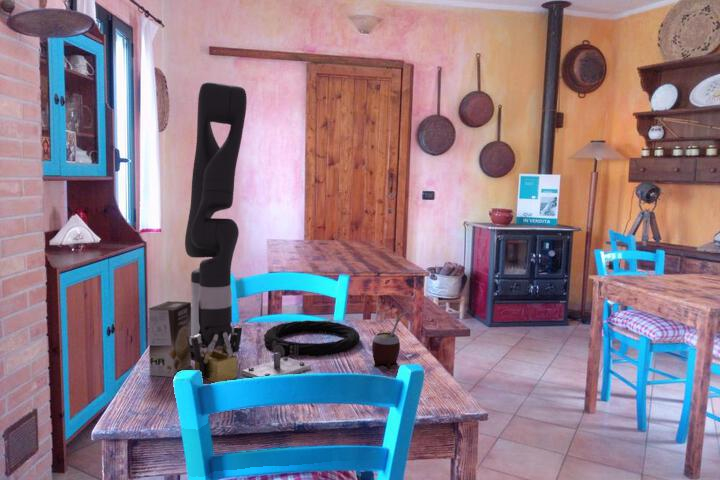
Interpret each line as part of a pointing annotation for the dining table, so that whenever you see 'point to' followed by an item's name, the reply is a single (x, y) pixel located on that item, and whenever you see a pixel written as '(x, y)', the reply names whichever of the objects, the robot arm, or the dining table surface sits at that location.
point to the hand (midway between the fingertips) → (215, 373)
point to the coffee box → (169, 338)
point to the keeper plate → (272, 371)
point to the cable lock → (311, 348)
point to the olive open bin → (221, 366)
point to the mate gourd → (386, 348)
